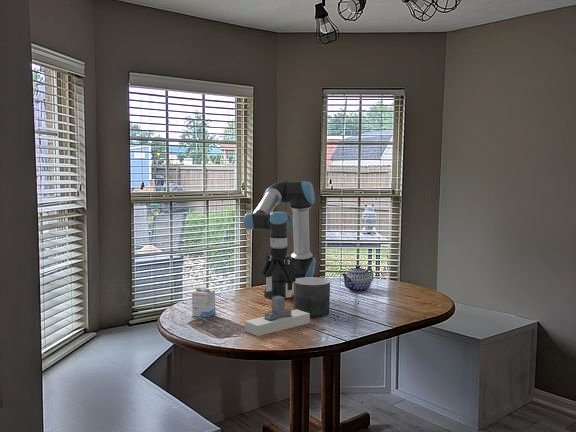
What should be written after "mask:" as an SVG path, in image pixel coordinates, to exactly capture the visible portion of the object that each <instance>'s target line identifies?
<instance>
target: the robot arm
mask: <svg viewBox="0 0 576 432" xmlns="http://www.w3.org/2000/svg"><path fill="white" fill-rule="evenodd" d="M314 203H315V190H314V185H313V184H312V182H311V181H305V180H283V181H278V182H275V183H273V184H272V185H270V186H269V187H267V189H266V190H265V191H264V193H263V198H262V199H261V201H260V202H259V203H258V205H257V207H256V208H255V209H254V210H253V212H248V213H245V214H244V217H243V226H244V228H245V229H246V230H253V231H254V230H257V231H258V230H259V231H269V233H270V235H269V239H270V240H269V241H270V242H269V243H270V244H269V246H270V248H269V254H270V255H267V256H266V261H265V264H264V266H263V267H264V268H263V269H262V275H263V276H264V277H265V284H266V285H265V288H264V290H263V297H264V298H266V299H271V300H272V297H275V296H281V297H285V299H288V298H289V299H290V298H292V295H293V292H292V290H293V283H294V282H295V281H296V279H298V278H305V277H314V274H315V269H316V263H317V262H316V261H317V259H316V257H313V256H314V255H313V253H312V252H311V249H310V211H309V210H310V209H311V208H312V206H313V205H314ZM280 204H289V208H290V209H291V210H292V215H291V214H289V213H287V212H286V211H274V209H275V208H276V206H278V205H280ZM291 228H292V230H293V231H292V232H293V233H292V234H293V235H292V236H293V252H292V253H291V255H289V253H288V247H287V246H288V230H290V229H291Z"/></svg>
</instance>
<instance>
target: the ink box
mask: <svg viewBox="0 0 576 432" xmlns="http://www.w3.org/2000/svg"><path fill="white" fill-rule="evenodd" d="M194 289H195V291H191V307H192V309H191V310H192V311H191V312H192V313H191V314H192V317H201V318H209V317H212V316H213V315H215V314H216V290H215V289H210V288H205V287H204V288H203V287H194Z"/></svg>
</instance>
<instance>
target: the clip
mask: <svg viewBox="0 0 576 432" xmlns="http://www.w3.org/2000/svg"><path fill="white" fill-rule="evenodd" d="M285 299H286V298H285V297H281V296H275V297H272V299H271V311H268V312H264V317H265V320H268V321H274V320H275V319H279V318H284V317H291V309H289V308H285V301H286V300H285Z"/></svg>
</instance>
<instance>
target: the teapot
mask: <svg viewBox="0 0 576 432" xmlns="http://www.w3.org/2000/svg"><path fill="white" fill-rule="evenodd" d="M369 272H370V273H369ZM341 275H342V276H343V282H344V286H345V289H348V290H349V291H350V292H352V293H366V292H367V291H368V290H369V289H370V287H371V284H372V282H373V279H374V271H373V270H372V268H370V267H368V268H363V267H361V266H360V265H359V264H356V265H355V267H352V268H349V271H347V273H345V272H343V273H341Z"/></svg>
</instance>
